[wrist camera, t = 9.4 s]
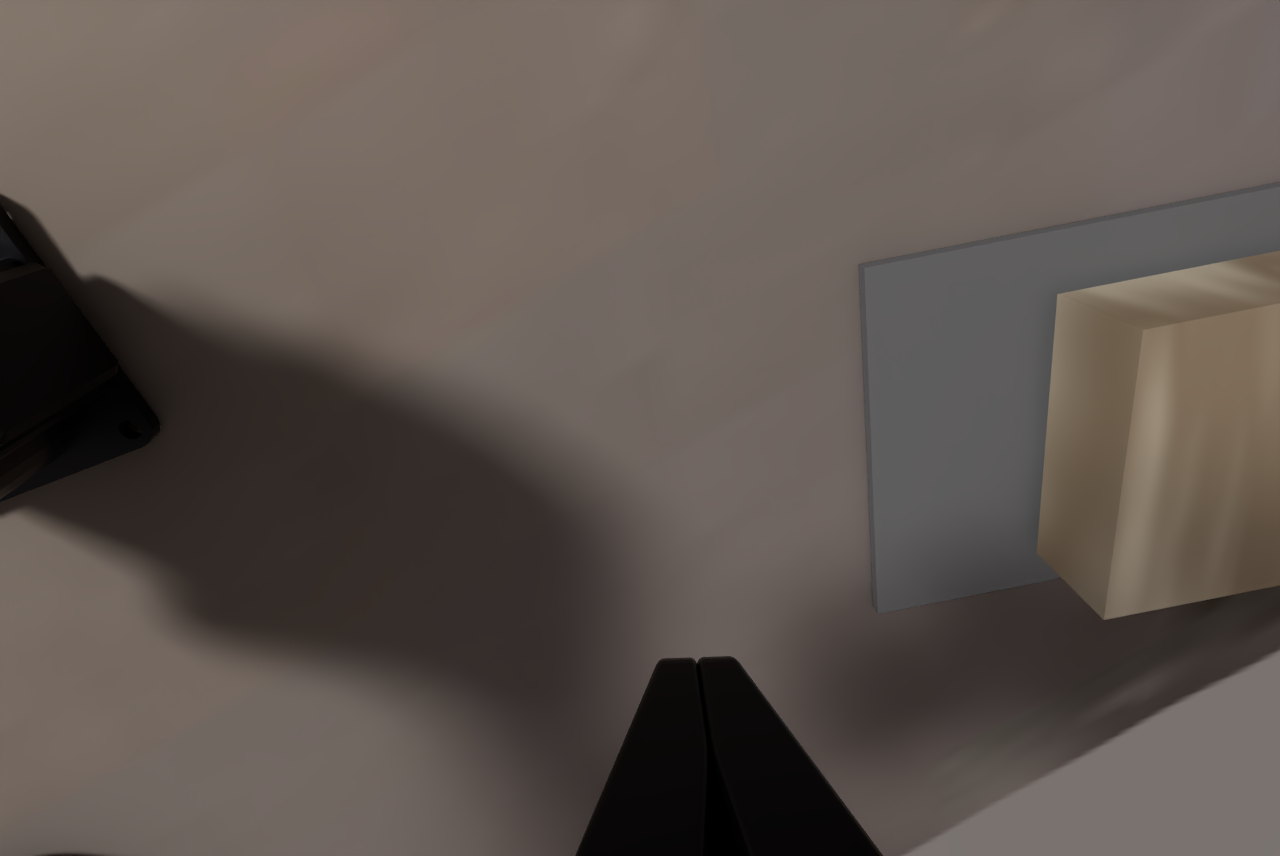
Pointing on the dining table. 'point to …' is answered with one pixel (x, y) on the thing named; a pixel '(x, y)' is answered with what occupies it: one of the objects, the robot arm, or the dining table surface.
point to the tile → (1165, 438)
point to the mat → (997, 382)
